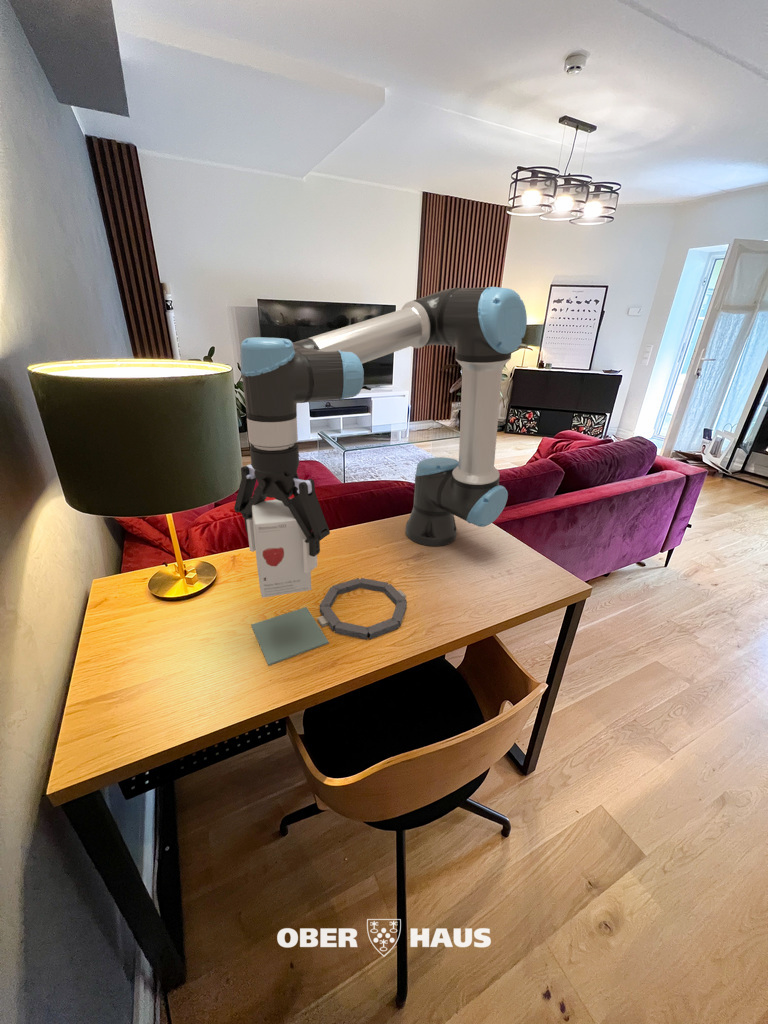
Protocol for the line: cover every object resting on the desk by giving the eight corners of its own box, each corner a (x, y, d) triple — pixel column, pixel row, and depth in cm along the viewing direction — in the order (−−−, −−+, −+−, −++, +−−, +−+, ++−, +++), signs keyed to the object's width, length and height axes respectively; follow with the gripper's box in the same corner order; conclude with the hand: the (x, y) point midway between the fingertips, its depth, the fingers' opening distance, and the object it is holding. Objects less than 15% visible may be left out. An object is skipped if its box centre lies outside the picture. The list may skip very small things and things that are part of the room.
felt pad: (306, 608, 90) (306, 606, 90) (328, 643, 81) (328, 641, 81) (251, 626, 84) (251, 624, 84) (268, 665, 75) (268, 664, 75)
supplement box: (260, 599, 71) (252, 523, 65) (257, 571, 79) (250, 500, 72) (312, 591, 74) (309, 517, 68) (305, 564, 82) (301, 496, 75)
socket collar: (383, 575, 102) (383, 570, 102) (425, 618, 89) (426, 612, 88) (304, 599, 92) (303, 594, 92) (338, 652, 79) (338, 646, 78)
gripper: (351, 451, 63) (350, 569, 72) (237, 426, 73) (249, 531, 83) (321, 465, 57) (324, 591, 66) (201, 435, 67) (219, 548, 77)
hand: (282, 558), depth 74 cm, fingers closed on supplement box, 12 cm apart
